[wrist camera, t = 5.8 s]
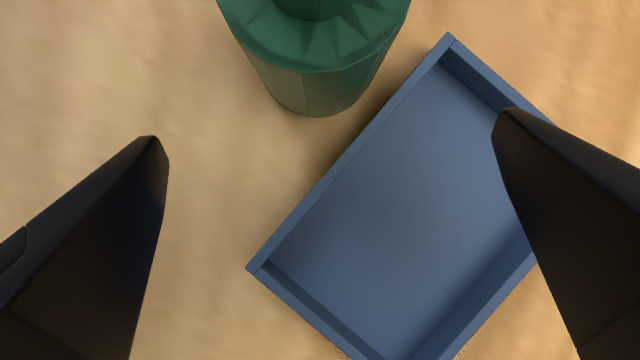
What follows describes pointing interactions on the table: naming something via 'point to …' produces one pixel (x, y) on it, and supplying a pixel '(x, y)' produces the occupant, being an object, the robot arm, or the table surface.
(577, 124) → the table surface
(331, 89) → the bottle
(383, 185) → the tray
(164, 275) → the table surface
